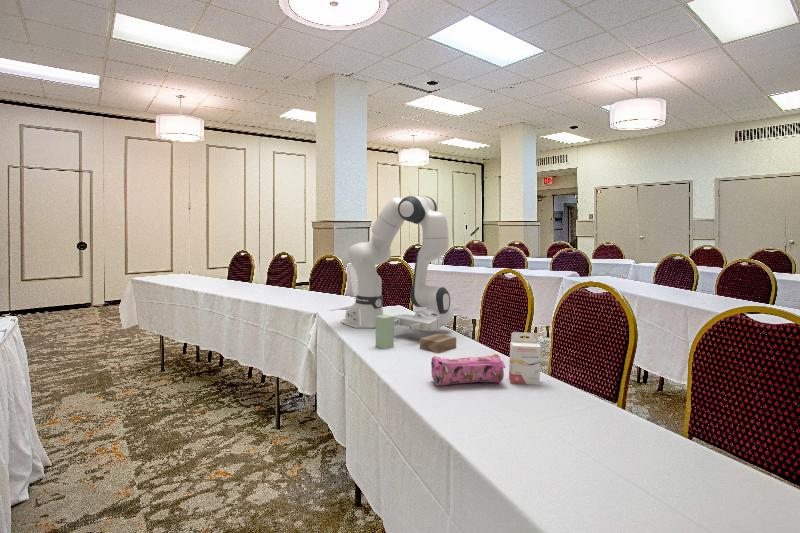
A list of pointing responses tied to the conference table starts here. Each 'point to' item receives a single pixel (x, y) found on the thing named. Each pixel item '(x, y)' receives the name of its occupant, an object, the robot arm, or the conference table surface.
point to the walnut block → (437, 343)
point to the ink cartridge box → (524, 358)
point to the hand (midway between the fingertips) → (401, 325)
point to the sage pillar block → (384, 331)
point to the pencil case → (467, 370)
